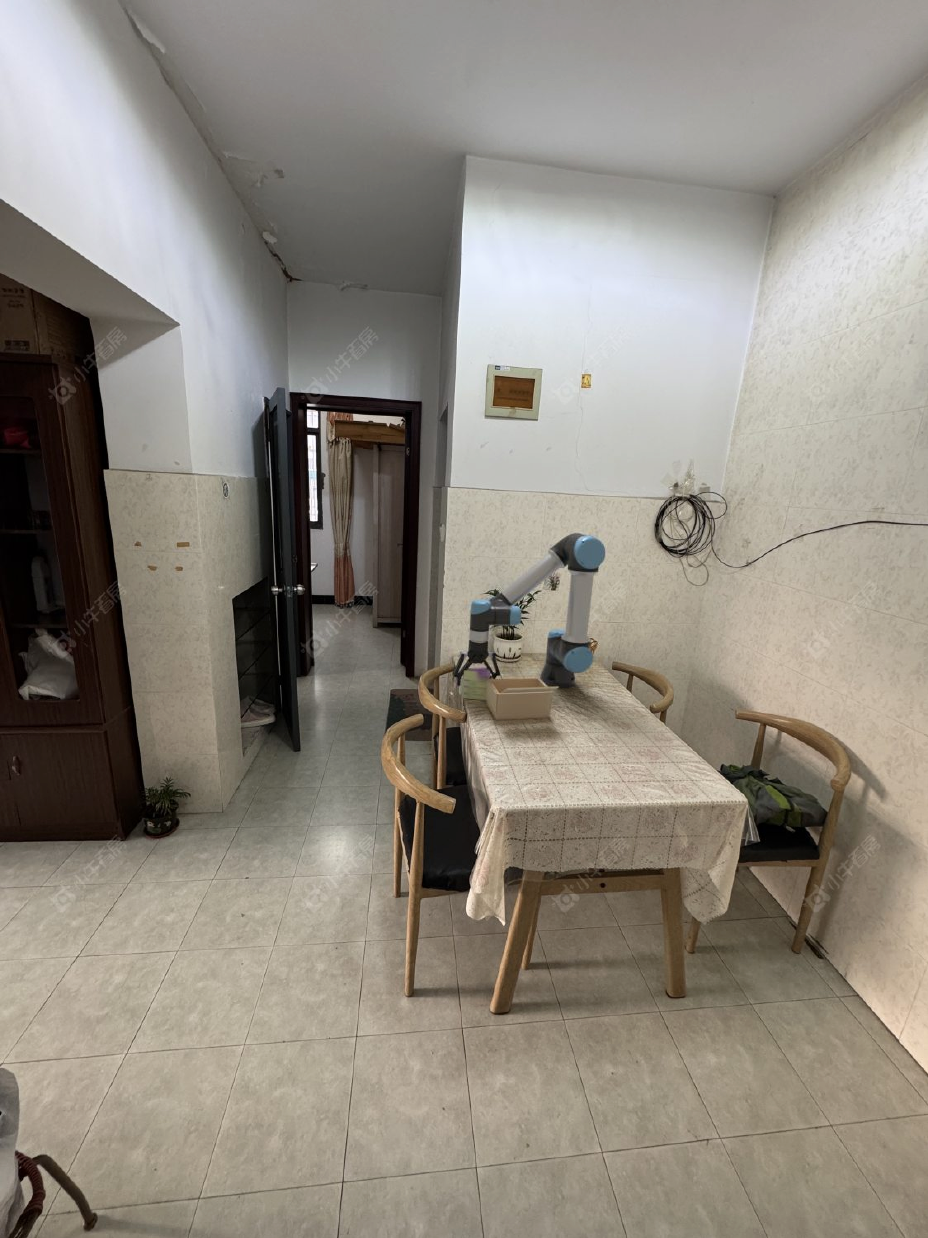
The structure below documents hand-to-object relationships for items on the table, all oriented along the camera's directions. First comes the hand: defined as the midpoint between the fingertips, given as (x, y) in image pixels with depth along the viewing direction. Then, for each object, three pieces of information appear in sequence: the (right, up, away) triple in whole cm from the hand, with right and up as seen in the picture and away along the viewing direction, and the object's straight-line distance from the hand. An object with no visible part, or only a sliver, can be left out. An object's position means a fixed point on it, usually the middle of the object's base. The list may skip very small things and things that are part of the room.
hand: (475, 692), depth 198 cm
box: (0, -2, 0) cm, 2 cm away
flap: (+18, +5, -24) cm, 30 cm away
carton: (+15, -5, -10) cm, 19 cm away
